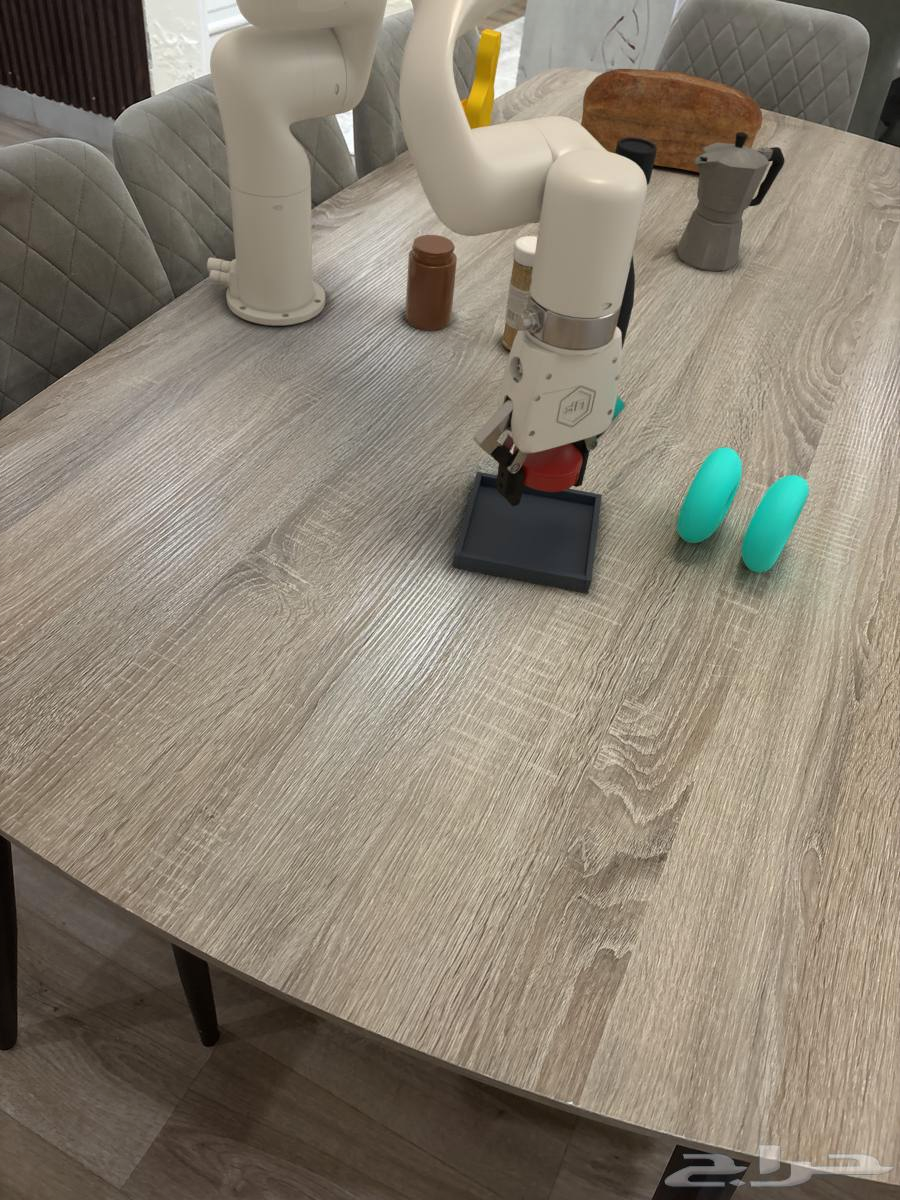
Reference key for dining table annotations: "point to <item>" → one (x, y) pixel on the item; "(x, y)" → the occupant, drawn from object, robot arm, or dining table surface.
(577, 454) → the jar lid
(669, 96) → the bread
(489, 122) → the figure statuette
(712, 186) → the coffeepot
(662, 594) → the dining table surface
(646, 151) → the black bottle
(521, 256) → the spice jar
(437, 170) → the robot arm
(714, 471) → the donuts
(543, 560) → the slate tray
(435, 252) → the jam jar
